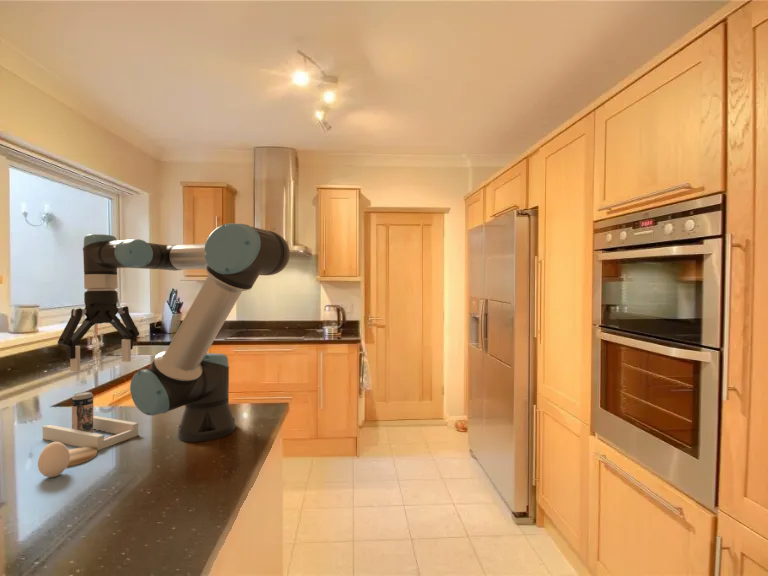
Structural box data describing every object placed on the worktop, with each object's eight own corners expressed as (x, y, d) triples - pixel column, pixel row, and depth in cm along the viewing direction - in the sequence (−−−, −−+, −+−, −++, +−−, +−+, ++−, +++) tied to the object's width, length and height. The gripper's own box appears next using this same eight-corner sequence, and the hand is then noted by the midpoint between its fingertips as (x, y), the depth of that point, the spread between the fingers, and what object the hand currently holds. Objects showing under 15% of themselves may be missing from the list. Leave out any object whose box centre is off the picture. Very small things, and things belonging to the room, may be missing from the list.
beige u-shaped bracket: (138, 435, 108) (138, 422, 108) (97, 450, 98) (97, 437, 98) (85, 425, 116) (85, 414, 116) (42, 438, 106) (42, 426, 106)
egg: (43, 484, 81) (43, 449, 81) (34, 478, 84) (34, 443, 84) (73, 474, 86) (73, 440, 86) (64, 468, 88) (64, 435, 88)
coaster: (106, 453, 96) (106, 450, 96) (61, 471, 87) (61, 467, 87) (80, 448, 100) (80, 445, 100) (34, 464, 90) (34, 461, 90)
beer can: (81, 439, 106) (81, 396, 106) (67, 438, 107) (67, 395, 107) (97, 432, 110) (97, 391, 110) (84, 431, 111) (84, 391, 111)
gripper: (134, 290, 119) (135, 357, 119) (39, 290, 96) (40, 374, 95) (151, 289, 116) (153, 358, 116) (58, 290, 93) (59, 376, 93)
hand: (102, 365), depth 106 cm, fingers open, 13 cm apart
